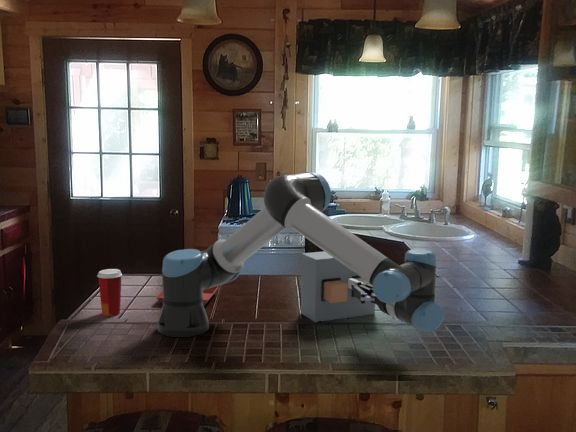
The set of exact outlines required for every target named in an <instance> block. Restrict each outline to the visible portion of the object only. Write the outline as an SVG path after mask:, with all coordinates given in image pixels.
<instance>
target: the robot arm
mask: <svg viewBox="0 0 576 432" xmlns="http://www.w3.org/2000/svg"><path fill="white" fill-rule="evenodd" d="M331 191H332V190H331V187H330V184H329V182H328V181H327V179H326V177H324V176H323V175H321V174H320V173H317V172H313V171H312V172H311V171H305V172H301V173H293V174H282V175H277V176H276V177H275V178H274V177H273V179H271V180H270V181H269V183H268V184H267V185H266V187H265V189H264V192H263V204H264V207H263V208H262V209H261V210H260V211H258V213H256V214H255V215H253V216H252V217H251V218H250V219H249V220H247V222H245V223H244V224H243V225H242V226H241V227H239V228H238V229H237V230H236V231H234V232H233V233H232V234H231V235H229V237H228V238H227V239H222V238H221V239H218V240H216V241H215V242H214V243H213V244H211V245H210V246H209V247H208V248H207V249H204V250H201V251H200V250H199V249H196V248H184V249H178V250H177V249H176V250H173V251H171V252H169V253H167V254H166V255H165V256H164V257H163V258H162V259H163V260H162V268H161V273H162V291H163V304H162V309H161V312H160V315H159V318H158V321H157V332H158V333H159V334H161V335H163V336H165V337H166V336H167V337H172V338H189V337H190V338H191V337H195V336H200V335H202V334H205V333H206V332H207V331H209V330H210V320H209V318H208V314H207V312H206V309H205V306H203V290H206V289H209V288H212V287H215V286H218V287H219V286H223V285H227V284H230V283H231V282H234V281H235V280H236V279H237V278H238V276H240V274H241V271H242V270H243V268H244V265H245V261H247V260H248V259H249V258H251V256H253V255H254V254H256V253H257V252H258V251H259V250H261V249H262V248H263V247H264V246H266V244H268V243H269V242H270V241H271V240H273V239H274V238H276V237H277V236H278V235H279V234H281V233H282V232H284V231H285V230H288V231H293V230H295V231H296V232H297V233H298V234H300V235H301V236H302V237H304V238H305V239H307V240H308V241H309V242H311V243H312V244H314V245H315V246H317V247H318V248H319V249H321V250H322V251H325V252H326V253H328V254H329V255H331V256H332V257H333V258H335V259H336V260H338V261H339V262H340V263H342V264H343V265H345V266H346V267H347V268H349V269H350V270H351V271H353V272H354V273H356V274H357V275H358V276H360V277H361V278H363V279H364V280H365V281H367V282H368V283H366V284H365V283H363V282H360V281H358V280H356V279H353V278H351V279H348V288H350V289H352V290H353V295H354V296H355V297H357V298H358V299H359V300H360V301H361V303H362V304H364V303H365V302H367V301H370V302H371V303H374V304H375V306H376V305H377V307H378V309H379V310H380V312H382V313H384V314H385V315H387V316H390V317H392V318H395V319H396V320H398V321H400V322H401V323H405V324H407V325H409V326H412V327H413V328H415V329H417V330H420V331H422V332H423V331H424V332H429V333H430V332H434V331H436V330H437V329H439V328H440V326H441V325H442V324H443V322H444V316H445V315H444V311H443V308H442V306H441V305H440V304H439V303H438V302H436V280H437V279H436V277H437V274H436V273H437V257H436V253H435V252H434V251H432V250H429V249H422V248H421V249H419V248H418V249H417V248H416V249H409V250H407V251H406V252H405V254H404V255H405V256H404V263H402V264H400V265H399V264H398V263H396V262H395V261H393V260H392V259H390V258H389V257H387V256H386V255H384V254H383V253H382V252H381V251H379V250H378V249H376V248H374V247H373V246H372V245H370V244H368V243H367V242H366V241H364V240H363V239H361V238H360V237H359V236H357V235H355V234H354V233H352V232H351V231H349V230H348V229H346V228H345V227H344V226H343V225H341V224H340V223H338V222H336V221H335V220H334V219H332V218H331V217H329V216H328V215H326V214H325V213H323V212H324V211H325V210H326V209H327V208H328V207H329V206H330V202H331V195H332V192H331ZM369 283H370V284H369Z"/></svg>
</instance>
